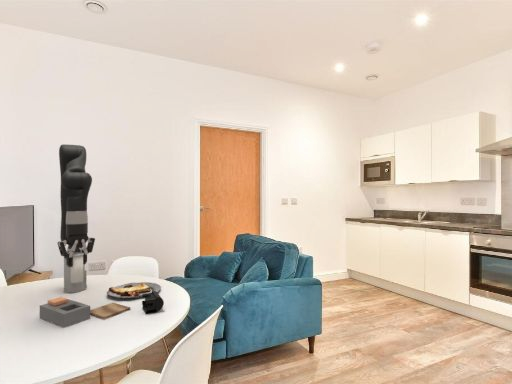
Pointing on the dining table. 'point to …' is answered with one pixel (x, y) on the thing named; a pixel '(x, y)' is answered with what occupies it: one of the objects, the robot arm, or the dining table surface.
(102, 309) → the walnut board
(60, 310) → the grey hollow block
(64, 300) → the orange cube
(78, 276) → the cylinder
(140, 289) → the food plate
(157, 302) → the end cap
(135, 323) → the dining table surface
